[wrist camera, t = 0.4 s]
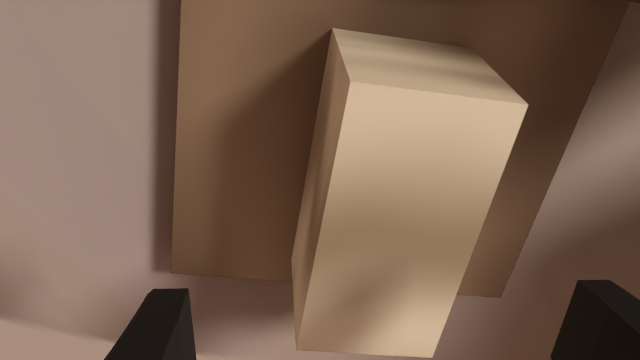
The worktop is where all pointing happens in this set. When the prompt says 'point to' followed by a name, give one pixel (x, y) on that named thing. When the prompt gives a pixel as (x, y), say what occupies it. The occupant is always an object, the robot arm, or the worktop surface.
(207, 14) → the cradle
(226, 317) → the worktop surface
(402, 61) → the birch bar
